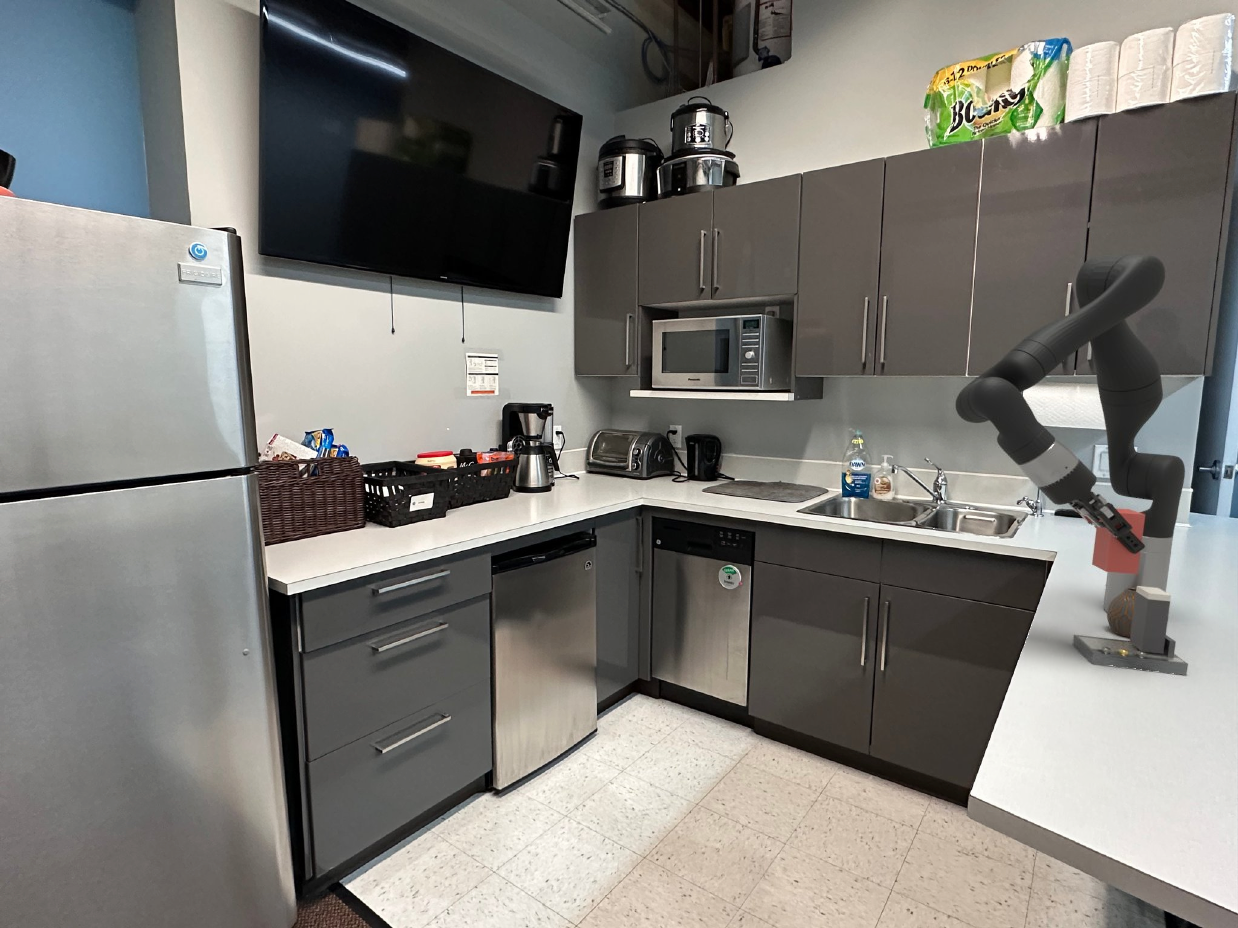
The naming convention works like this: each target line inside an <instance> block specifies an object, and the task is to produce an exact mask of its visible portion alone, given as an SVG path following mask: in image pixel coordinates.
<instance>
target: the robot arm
mask: <svg viewBox="0 0 1238 928" xmlns="http://www.w3.org/2000/svg"><path fill="white" fill-rule="evenodd" d="M1165 278H1166V269H1165V265H1164V263H1163V262H1162V260H1161V259H1160V258H1158V257H1157V256H1154V255H1150V254H1144V253H1143V254H1138V253H1137V254H1136V253H1132V254H1131V253H1129V254H1126V253H1125V254H1104V255H1096V256H1092V257H1090V258H1088V259H1087V260H1086V261H1085V262H1084V263H1083V264H1082V265H1081V266H1080V268H1079V270H1078V272H1077V275H1076V280H1075V294H1076V300H1077V303H1078V309H1077V310H1075V311H1073V312H1071V313H1069V314H1067V315H1065V316H1063V317H1061V318H1058V319H1056V320H1054V321H1052V322H1049V323H1048V324H1046V325H1044V326H1042V327H1039V328H1038V329H1036V330H1035V331H1033V332H1031V333H1030V334H1029V335H1027V336H1026V337H1025V338H1023V339H1022V340H1021V341H1020V342H1019V343H1017V344H1016V345H1015V347H1013V348H1012V349H1010V351H1009V352H1007V354H1005V355H1004V356H1003V357H1002V359H1000V360H999V361H997V363H996V364H995V365H993V366H991V367H990V368H988V369H987V370H985V371H984V372H983V373H982V374H980V375H979V376H977V377H976V378H974V379H973V380H972V381H971V382H969V383H968V384H967V385H966V386H964V387H963V388H962V389H961V391H960V392H959V394H957V397H956V400H955V410H956V413H957V415H958V416H959V417H960V418H961V419H962V420H963V421H965V422H968V423H971V424H981V423H986V422H990V423H992V424H993V426H994V427H995V429H996V430H997V431H998V435H997V436H996V442H997V444H998V445H999V448H1001V449H1002V451H1003V452H1005V453H1004V454H1006V455H1007V456H1008V457H1009V458H1010V459H1011V460H1012V461H1013V462H1014V463H1015V464H1016V465H1017V466H1018V467H1019V468H1020V470H1021V471H1022V472H1023V473H1024V475H1025V476H1026V477H1027V478H1028V479H1029V480H1030V481H1031V483H1033V484H1034V486H1036V487H1037V488H1038V489H1039V490H1040V491H1041V493H1043V494H1044V495H1045V497H1047V498H1048V499H1049V500H1050V501H1051V502H1052V503H1053V504H1054V505H1057V506H1058V505H1059V506H1061V505H1066V504H1067V505H1069V506H1070V507H1071V509H1072V510H1073V511H1075V512H1076V513H1078V514H1079V515H1080V516H1081V517H1082V519H1083V520H1085V521H1086V522H1087V523H1088V525H1091V526H1094V529H1096V527H1097V526H1098V527H1099V528H1105V529H1106V530H1107V531H1108V532H1109V533H1110V534H1112V536H1113V537H1115V538H1116V539H1117V540H1118V541H1119V542H1120V543H1121V544H1122V545H1123V546H1124V547H1125V548H1126V549H1127V550H1128V551H1129V552H1131V553H1133V554H1136V553H1138V552H1139V551H1141V552H1140V559H1139V567H1138V574H1129V573H1115V572H1106V573H1107V574H1106V580H1105V581H1106V582H1105V589H1104V590H1105V591H1104V599H1103V606H1104V611H1105V612H1107V610H1108V606H1109V604H1110V603H1111V601H1112V600H1113V599H1114V598H1115V597H1117V596H1118V595H1119V594H1121V593H1122V592H1123V591H1124V590H1125V588H1137V586H1143V587H1154V588H1159V589H1161V590H1163V591H1164V592H1166V593H1167V588H1168V587H1167V586H1168V578H1169V572H1170V564H1171V557H1172V547H1173V540H1174V532H1175V529H1176V528H1175V526H1176V523H1177V519H1178V513H1179V506H1180V501H1181V497H1182V496H1181V495H1182V491H1183V487H1184V482H1185V477H1186V475H1185V474H1186V469H1185V463H1184V461H1183V460H1182V458H1180V457H1179V456H1177V455H1171V454H1161V453H1147V452H1146V453H1145V452H1139V451H1136V448H1135V438H1136V437H1137V435H1138V433H1139V432H1140V430H1141V429H1142V428H1143V426H1145V424H1146V423H1147V422H1148V421H1149V420H1150V419H1151V417H1152V416H1153V415H1154V414H1155V412H1156V411H1157V410H1158V408H1159V407H1160V405H1161V403H1162V401H1163V396H1164V393H1163V384H1162V376H1161V369H1160V365H1159V363H1158V361H1157V360H1156V358H1155V357H1154V355H1153V354H1152V353H1151V351H1150V350H1149V349H1148V347H1147V346H1146V345H1145V343H1143V342H1142V341H1141V339H1139V338H1138V336H1137V334H1136V333H1135V332H1133V330H1132V329H1131V327H1130V325H1129V324H1128V322H1127V320H1126V319H1127V318H1129V317H1131V316H1133V314H1135V313H1137V312H1139V311H1140V310H1142V309H1143V308H1145V307H1146V306H1147V305H1148V304H1149V303H1150V304H1151V302H1152V301H1153V300H1155V298H1156V297H1157V296H1158V295H1159V293H1160V291H1161V290H1162V288H1163V286H1164V285H1165V284H1164V283H1165ZM1088 343H1090V347H1091V354H1092V357H1093V361H1094V368H1095V375H1096V382H1097V383H1096V384H1097V388H1098V389H1097V390H1098V394H1099V399H1100V405H1101V409H1102V413H1103V419H1104V425H1105V430H1106V431H1105V432H1106V440H1107V442H1106V443H1107V459H1108V473H1109V474H1108V475H1109V480H1110V481H1109V482H1110V485H1111V488H1112V490H1113V492H1115V493H1116V494H1117V495H1119V496H1122V497H1126V498H1133V499H1139V500H1145V501H1146V500H1149V501H1152V502H1151V505H1150V507H1149V508H1148V509H1146V510H1143V511H1138V512H1139V513H1142V514H1145V521H1144V529H1143V536H1142V542H1141V541H1140V540H1139V539H1138V538H1137V537H1136V536H1135V535H1134V534H1133V533H1132V532H1131V531H1130V530H1131V529H1132V526H1131V525H1130V524H1129V523H1128V522H1127V521H1126V520H1125V519H1124V517H1123V516H1122V515H1121V514H1120V513H1119V512H1118V511H1117V510H1116V509H1117V508H1116V507H1115V506H1114V505H1113V503H1110V502H1108V501H1107V499H1106V498H1105V497H1103V496H1102V495H1101V494H1099V493H1095V492H1094V491H1092V488H1093V487H1094V486H1095V485H1096V483H1097V481H1098V480H1097V479H1098V478H1097V475H1095V474H1094V473H1093V471H1091V470H1090V468H1089V467H1087V466H1086V464H1084V462H1082V461H1081V460H1080V458H1078V457H1077V456H1076V455H1075V453H1073V452H1072V451H1071V449H1069V448H1068V447H1067V446H1066V445H1065V444H1064V443H1062V442H1060V441H1059V440H1058V439H1057V438H1056V437H1055V436H1054V435H1053V434H1052V433H1051V432H1050V431H1049V430H1048V429H1047V428H1046V427H1045V426H1044V425H1043V424H1041V423H1040V421H1038V419H1037V418H1036V416H1035V414H1034V412H1033V410H1032V409H1031V407H1030V405H1029V404H1028V402H1027V400H1026V399H1025V397H1024V395H1023V394H1022V393H1023V392H1024V391H1026V390H1028V389H1031V388H1032V387H1034V386H1036V385H1037V384H1039V383H1040V382H1041V381H1042V380H1043V379H1044V378H1045V377H1047V376H1048V375H1049V374H1050V373H1051V372H1052V371H1053V370H1054V369H1056V368H1057V367H1058V366H1059V365H1060V364H1062V362H1064V361H1065V360H1066V359H1068V358H1069V356H1071V355H1072V354H1074V353H1075V352H1076V351H1078V350H1079V349H1080V348H1083V347H1084V346H1085V345H1086V344H1088ZM1099 520H1102V522H1099ZM1118 523H1119V524H1120V526H1119V527H1117V528H1116V529H1115V528H1114V526H1115V525H1116V524H1118Z"/></svg>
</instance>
